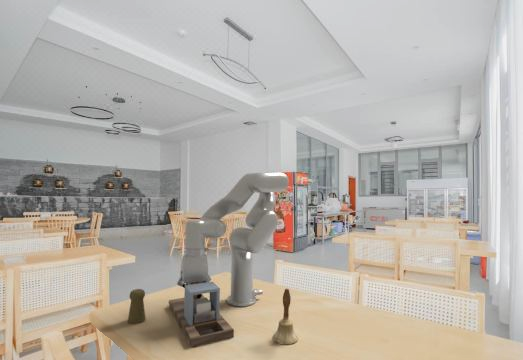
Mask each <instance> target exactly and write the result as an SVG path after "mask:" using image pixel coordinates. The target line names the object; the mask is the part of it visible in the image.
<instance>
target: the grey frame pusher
mask: <svg viewBox="0 0 523 360" xmlns="http://www.w3.org/2000/svg"><path fill="white" fill-rule="evenodd" d="M192 284H198V282H194V283H191V285H192ZM194 299H198V295H193V300H194ZM214 319H215V310H214V309H213V308H212V307H211V311H207V312H202V313H197V314H195V313H194V311H193V323H199V322H204V321H209V320H214Z"/></svg>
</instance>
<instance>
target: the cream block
mask: <svg viewBox="0 0 523 360" xmlns="http://www.w3.org/2000/svg"><path fill="white" fill-rule="evenodd" d="M209 300H210V299H208V297H205V298H200V299H194V300H193V311H194V313H195V314H197V313H202V312H207V311H211V302H210V301H209Z"/></svg>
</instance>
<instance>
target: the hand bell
mask: <svg viewBox="0 0 523 360" xmlns="http://www.w3.org/2000/svg"><path fill="white" fill-rule="evenodd" d="M290 293H291V292H290V289H289V288H284V291H283V295H282V306H283V316H282V319H280V320H279V321H278V327H277V330H276V331H275V332H274V334H273V335H272V340H273V341H274V340H275V341H274V342H275V343H277V342H278V344H280V343H282V344H281V345H286V344H289V345H293V344H292V343H294V344H296V343H297V342H298V341H299V336H298V335H297V334H296V333H295V331H294V326H293V325H294V323H293V321H292V320H291V319H289V315H290V313H289V311H290V310H289V308H290V305H291V299H292V298H291V294H290ZM297 340H298V341H297ZM296 341H297V342H296ZM295 342H296V343H295Z"/></svg>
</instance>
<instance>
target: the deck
mask: <svg viewBox="0 0 523 360" xmlns="http://www.w3.org/2000/svg"><path fill="white" fill-rule="evenodd" d="M201 298H206V297H205V295H204V294H202V297H201ZM168 307H169V309H170V311H171V312H172V314H173V317H174V318H175V320H176V322H177V323H178V326H179V327H180V329H181V331H182V333H183V335H184V337H185V338H186V340H187V343H188V344H189V346H190V348H196V347H200V346H204V345H208V344H212V343H215V342H220V341H224V340H227V339H233V338H235V336H234V335H235V328H233V327H232V326H231V325H230V324H229V322H228V321H227V320H226V319H225V318H224V317H223V316H222V315H221V313H219V320H216V319H214V320H209V321H204V322H199V323H193V325H191V326H190V325H189V324H188V322H187V320H186V319H185V317H184V297H180V298H179V297H178V298H175V299H174V298H173V299H169V300H168Z"/></svg>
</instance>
